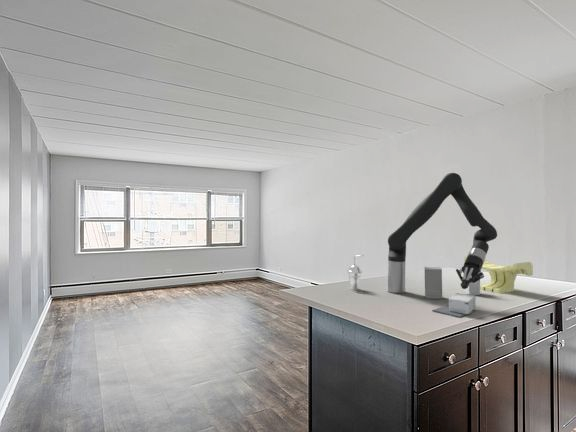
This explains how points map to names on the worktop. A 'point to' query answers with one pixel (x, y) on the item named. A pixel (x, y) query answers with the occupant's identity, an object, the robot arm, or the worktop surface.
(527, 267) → the slatted curved stool
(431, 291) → the skincare box
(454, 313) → the mat
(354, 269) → the cup with straw
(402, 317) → the worktop surface
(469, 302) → the skincare box
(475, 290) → the small box
